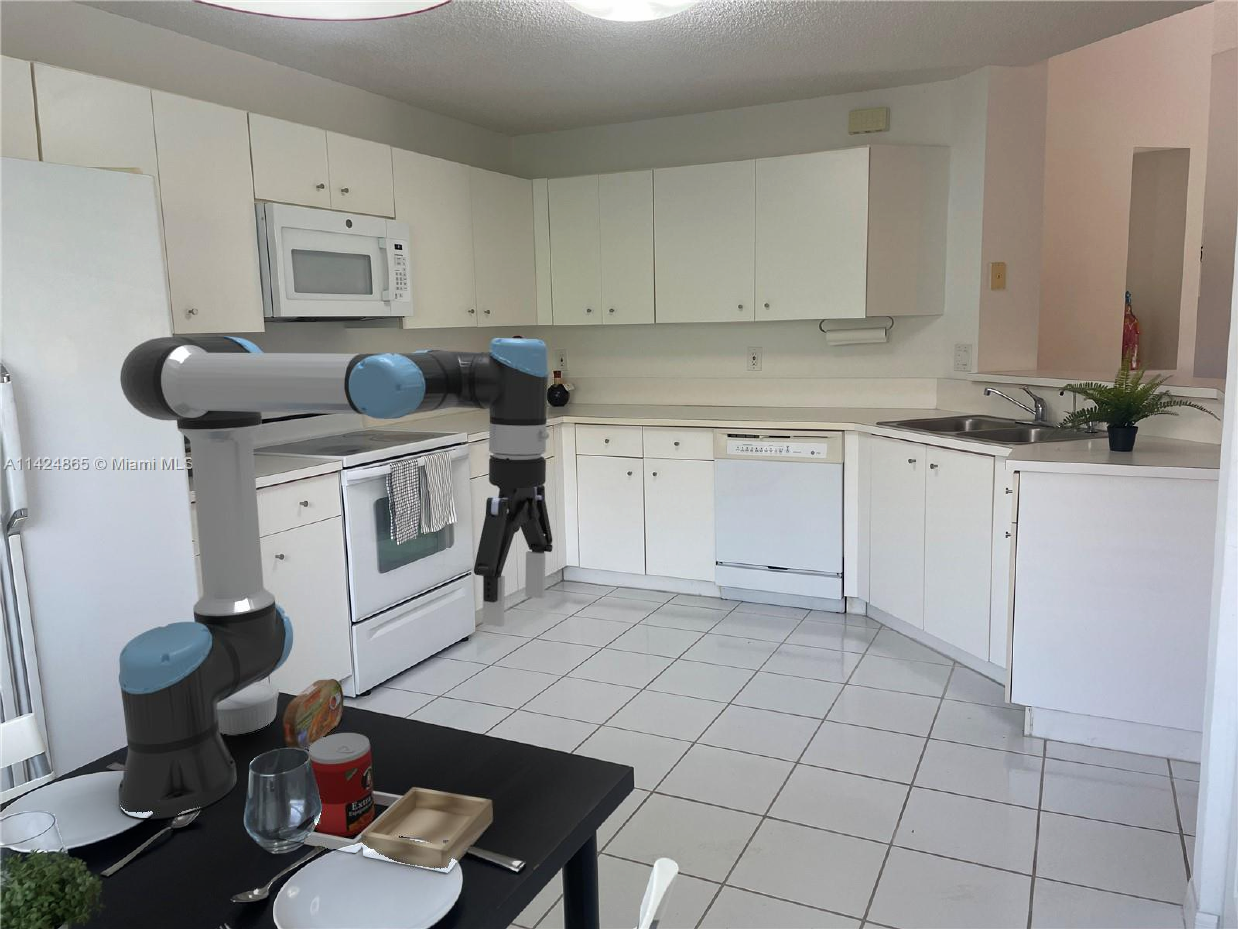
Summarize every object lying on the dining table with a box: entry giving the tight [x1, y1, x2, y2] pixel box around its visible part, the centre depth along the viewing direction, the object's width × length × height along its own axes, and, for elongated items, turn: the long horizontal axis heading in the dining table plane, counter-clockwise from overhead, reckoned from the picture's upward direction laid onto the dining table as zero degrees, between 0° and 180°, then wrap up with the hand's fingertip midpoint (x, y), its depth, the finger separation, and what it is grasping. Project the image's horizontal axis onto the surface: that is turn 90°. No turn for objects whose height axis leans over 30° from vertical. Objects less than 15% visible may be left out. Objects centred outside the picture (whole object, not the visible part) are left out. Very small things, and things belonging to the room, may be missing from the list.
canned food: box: [308, 732, 375, 838], centre depth 116 cm, size 8×8×11 cm
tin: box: [282, 678, 344, 750], centre depth 141 cm, size 15×3×8 cm, turn 170°
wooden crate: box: [361, 786, 494, 869], centre depth 112 cm, size 12×12×3 cm
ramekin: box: [217, 681, 280, 736], centre depth 147 cm, size 11×11×5 cm
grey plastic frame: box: [303, 790, 404, 851], centre depth 116 cm, size 12×12×2 cm
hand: (515, 610), depth 118 cm, fingers open, 13 cm apart
